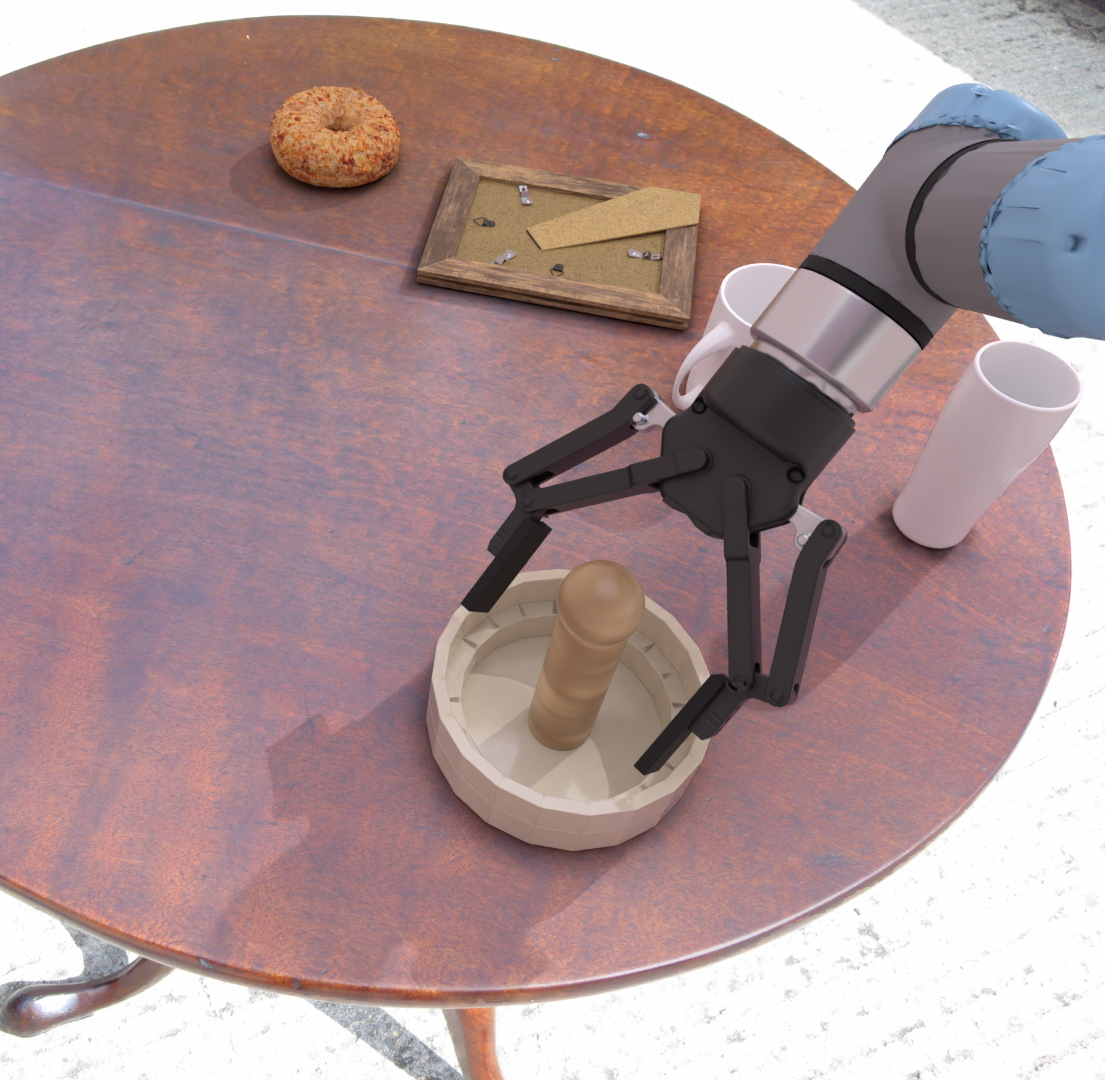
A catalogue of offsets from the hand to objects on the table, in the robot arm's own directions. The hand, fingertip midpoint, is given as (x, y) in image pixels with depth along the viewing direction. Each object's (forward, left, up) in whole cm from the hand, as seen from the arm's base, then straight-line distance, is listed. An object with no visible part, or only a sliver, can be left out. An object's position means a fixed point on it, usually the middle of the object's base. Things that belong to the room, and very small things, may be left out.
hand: (555, 684), depth 61 cm
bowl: (-1, -2, -7) cm, 7 cm away
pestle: (-1, -2, -6) cm, 7 cm away
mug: (-2, -35, -7) cm, 35 cm away
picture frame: (+17, -49, -7) cm, 52 cm away
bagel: (+42, -51, -7) cm, 66 cm away
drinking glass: (-19, -31, -7) cm, 37 cm away
